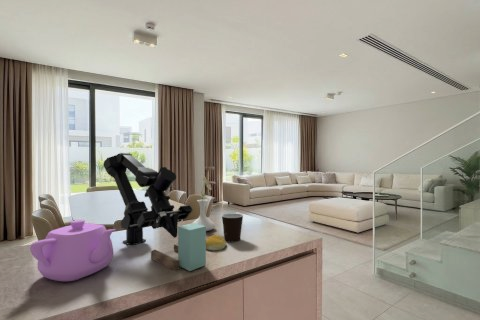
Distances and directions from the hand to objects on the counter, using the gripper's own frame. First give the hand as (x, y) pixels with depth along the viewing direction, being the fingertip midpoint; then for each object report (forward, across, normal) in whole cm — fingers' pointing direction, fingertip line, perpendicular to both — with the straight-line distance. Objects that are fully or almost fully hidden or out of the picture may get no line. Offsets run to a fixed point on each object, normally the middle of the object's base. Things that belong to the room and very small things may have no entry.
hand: (175, 236), depth 86 cm
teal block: (+12, 0, +1) cm, 12 cm away
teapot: (-3, +25, -14) cm, 29 cm away
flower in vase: (-9, -29, -21) cm, 37 cm away
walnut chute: (+6, 0, -5) cm, 7 cm away
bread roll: (+6, -17, -5) cm, 19 cm away
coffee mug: (+5, -29, -6) cm, 30 cm away
